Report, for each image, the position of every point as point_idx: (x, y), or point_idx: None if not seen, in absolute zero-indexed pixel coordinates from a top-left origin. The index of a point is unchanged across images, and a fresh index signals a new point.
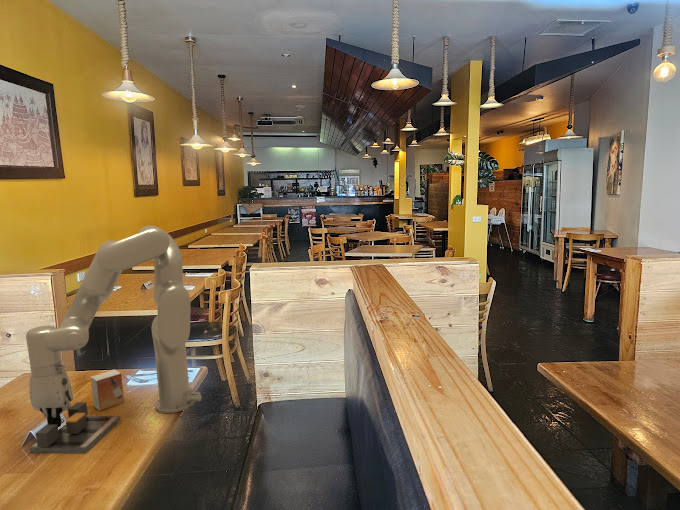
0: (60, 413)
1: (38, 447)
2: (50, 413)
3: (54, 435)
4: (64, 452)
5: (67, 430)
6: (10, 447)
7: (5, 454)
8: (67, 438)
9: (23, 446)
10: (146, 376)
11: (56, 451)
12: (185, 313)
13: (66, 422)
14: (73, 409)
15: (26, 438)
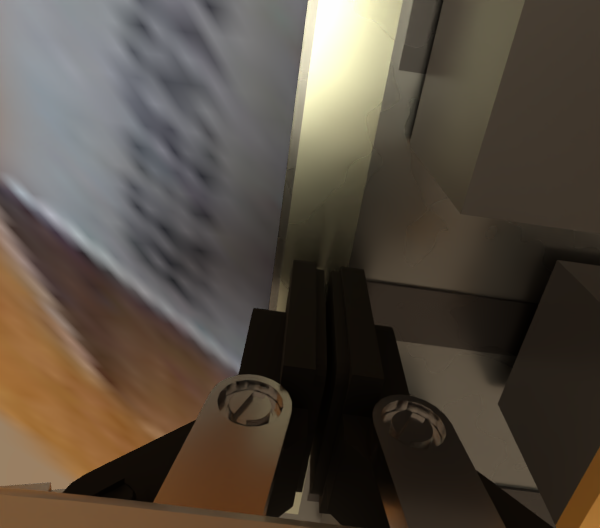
0: (420, 422)
1: (315, 519)
2: (278, 497)
3: None
4: None
5: (517, 435)
6: (20, 398)
7: (67, 471)
8: (513, 443)
9: (123, 398)
10: None
11: None
12: None
13: (560, 521)
14: (587, 227)
15: (40, 285)
